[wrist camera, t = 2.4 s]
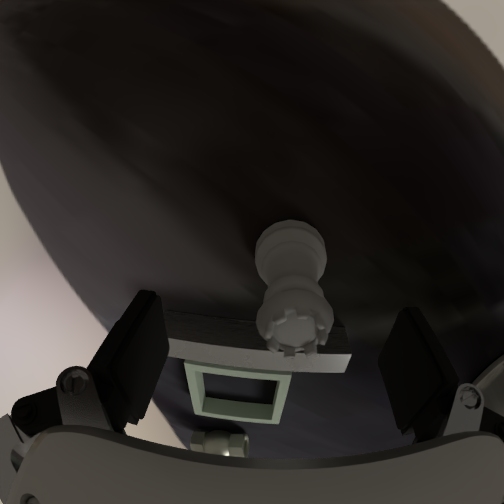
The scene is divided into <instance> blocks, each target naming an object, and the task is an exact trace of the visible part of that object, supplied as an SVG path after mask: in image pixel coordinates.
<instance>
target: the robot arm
mask: <svg viewBox="0 0 504 504" xmlns="http://www.w3.org/2000/svg"><path fill="white" fill-rule="evenodd" d="M169 349H170V346H169V341H168V336H167V331H166V326H165V321H164V315H163V310H162V304H161V299H160V296H157V295H156V293H155V292H154V291H148V290H140V291H139V292H138V293H137V295H136V296H135V298H134V299H133V301H132V302H131V303H130V305H129V306H128V308H127V309H126V311H125V312H124V314H123V315H122V317H121V318H120V320H118V321H117V322H116V323H115V325H114V326H113V328H112V329H111V331H110V332H109V334H108V335H107V337H106V338H105V340H104V342H103V343H102V345H101V346H100V348H99V349H98V351H97V352H96V354H95V356H94V357H93V359H92V361H91V362H90V364H89V365H88V367H87V369H86V368H84V367H81V366H73V367H69V368H67V369H65V370H64V371H63V372H61V374H60V375H59V376H58V378H57V381H56V387H53V388H50V389H47V390H44V391H41V392H38V393H35V394H32V395H29V396H26V397H23V398H20V399H18V401H16V402H15V404H14V405H13V407H12V411H11V415H10V416H9V415H8V414H6V415H4V416H3V417H2V418H0V499H1V501H2V503H3V504H504V354H503V355H502V356H501V357H499V358H498V359H497V360H496V361H494V362H493V363H492V364H491V365H490V366H489V367H488V368H486V369H485V370H484V371H483V372H482V373H481V374H480V375H479V376H478V377H477V378H476V379H475V381H474V382H473V383H472V384H469V383H465V384H462V385H461V386H459V387H458V385H457V383H458V382H459V381H460V380H459V378H458V376H457V374H456V372H455V370H454V368H453V366H452V365H451V363H450V361H449V359H448V357H447V355H446V353H445V352H444V350H443V348H442V346H441V344H440V343H439V341H438V339H437V337H436V336H435V334H434V332H433V331H432V329H431V327H430V326H429V324H428V322H427V321H426V319H425V317H424V316H423V314H422V313H421V311H420V309H419V308H417V307H405V308H404V309H403V310H402V311H400V312H399V314H398V316H397V319H396V321H395V323H394V326H393V328H392V330H391V332H390V335H389V337H388V339H387V341H386V343H385V345H384V348H383V350H382V352H381V354H380V356H379V359H378V365H379V368H380V371H381V374H382V377H383V380H384V383H385V387H386V390H387V393H388V396H389V400H390V403H391V407H392V410H393V414H394V417H395V421H396V425H397V428H398V429H401V433H402V436H403V435H407V434H411V433H415V436H416V437H415V439H414V441H413V443H412V445H407V446H403V447H399V448H394V449H389V450H384V451H378V452H372V453H366V454H359V455H351V456H342V457H331V458H315V459H262V458H246V457H235V456H225V455H217V454H210V453H203V452H197V451H192V450H186V449H181V448H176V447H172V446H167V445H162V444H158V443H154V442H150V441H146V440H142V439H139V438H135V437H132V436H128V435H127V434H126V432H125V430H124V428H125V427H126V424H127V422H128V423H131V424H135V425H137V424H138V421H139V419H143V418H144V416H145V413H146V411H147V408H148V405H149V403H150V400H151V397H152V395H153V392H154V389H155V387H156V384H157V382H158V379H159V377H160V374H161V371H162V369H163V366H164V364H165V361H166V359H167V356H168V354H169Z"/></svg>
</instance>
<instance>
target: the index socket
mask: <svg viewBox="0 0 504 504" xmlns="http://www.w3.org/2000/svg"><path fill="white" fill-rule="evenodd" d="M184 365H185V371H186V376H187V381H188V385H189V390H190V395H191V399H192V404H193V408H194V412H195V414H198V415H203V416H209V417H215V418H222V419H229V420H237V421H246V422H256V423H269V424H279V421H280V417H281V414H282V410H283V406H284V403H285V399H286V395H287V391H288V387H289V383H290V379H291V375H292V372H291V371H278V370H265V369H253V368H244V367H235V366H227V365H219V364H212V363H205V362H199V361H193V360H187V359H185V362H184ZM202 372H206V373H212V374H219V375H227V376H235V377H244V378H253V379H265V380H277V385H276V390H275V395H274V400H273V405H271V404H258V403H248V402H239V401H230V400H223V399H216V398H210V397H206V396H205V389H204V382H203V374H202Z"/></svg>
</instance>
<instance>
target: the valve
mask: <svg viewBox="0 0 504 504" xmlns="http://www.w3.org/2000/svg"><path fill="white" fill-rule="evenodd" d="M190 447H191V450H192V451H197V452H203V453H210V454H217V455H225V456H235V457H246V458H247V456H248V452H249V439H248V435H247V434H239V433H234V434H231V433H230V432H227V431H224V430H214V431H211V432H203V431H194V432H193V434H192V436H191V440H190Z"/></svg>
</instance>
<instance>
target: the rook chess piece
mask: <svg viewBox="0 0 504 504" xmlns="http://www.w3.org/2000/svg"><path fill="white" fill-rule="evenodd" d="M326 262H327V255H326V249H325V243H324V240H323V238H322V237H321V235H320V234H319V232H318V231H317V230H316V229H315V228H313V227H312V226H310V225H309V224H307V223H305V222H302V221H295V220H286V221H281V222H277V223H275V224H273V225H272V226H270V227H269V228H267V229H266V230H264V231H263V233H262V235H261V236H260V238H259V239H258V241H257V243H256V250H255V264H256V267H257V270H258V274H259V276H260V277H261V278H262V279H263V281H264V282H265V283H266V284H267V285H268V289H267V290H266V292H265V295H264V301H263V305H262V306H261V307H260V309H259V310H258V312H257V318H256V325H257V328H258V331H259V333H260V335H261V336H262V337H263V338H264V339H265V340H266V341H267V346H266V347H267V348H268V349H269V350H270V351H271V352H272V353H273V354H274V353H276V352H277V351H278V350H279V349H281V350H284V358H287V359H295V352H296V351H302V350H304V353H305V355H306V357H309V356H311V355H313V354H315V353H317V348H316V345H317V344H321V345H325V343H326V341H327V338H328V333H329V332H330V330H331V327H332V325H333V322H334V316H333V309H332V307H331V306H330V305H329V303H328V302H327V300H326V299H325V298H324V294H323V290H322V289H321V287H320V286H319V285H318V280H319V279H320V278H321V276H322V275H323V273H324V269H325V266H326Z"/></svg>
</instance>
